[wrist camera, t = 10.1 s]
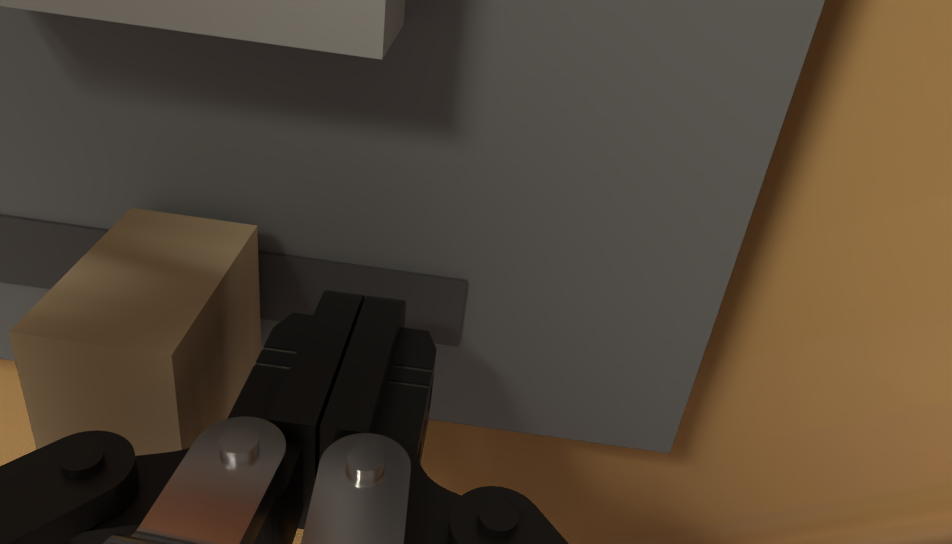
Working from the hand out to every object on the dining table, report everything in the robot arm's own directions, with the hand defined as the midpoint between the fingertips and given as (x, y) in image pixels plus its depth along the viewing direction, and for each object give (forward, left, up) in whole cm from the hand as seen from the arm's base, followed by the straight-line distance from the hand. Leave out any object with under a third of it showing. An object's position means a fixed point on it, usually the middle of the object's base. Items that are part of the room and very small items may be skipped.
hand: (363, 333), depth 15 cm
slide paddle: (-3, 0, -1) cm, 4 cm away
